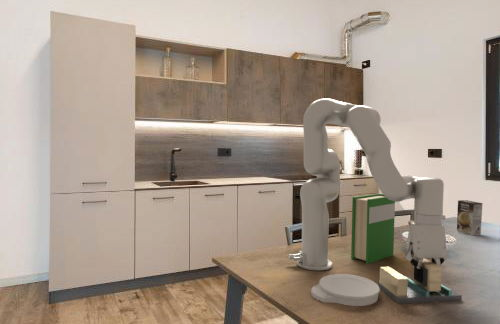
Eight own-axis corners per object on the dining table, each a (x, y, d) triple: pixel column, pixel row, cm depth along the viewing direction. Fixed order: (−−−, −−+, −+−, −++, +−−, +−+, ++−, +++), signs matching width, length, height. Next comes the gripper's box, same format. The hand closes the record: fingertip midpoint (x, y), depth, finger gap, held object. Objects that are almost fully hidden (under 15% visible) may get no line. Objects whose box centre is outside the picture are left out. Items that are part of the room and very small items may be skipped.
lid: (301, 286, 109) (301, 276, 109) (359, 281, 114) (359, 271, 114) (325, 311, 93) (325, 300, 92) (392, 304, 97) (392, 293, 97)
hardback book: (367, 263, 130) (369, 199, 129) (351, 258, 136) (352, 197, 134) (393, 255, 141) (395, 195, 140) (376, 250, 146) (378, 193, 145)
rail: (399, 303, 97) (399, 280, 97) (377, 286, 109) (378, 265, 108) (461, 300, 99) (462, 277, 99) (434, 283, 111) (434, 263, 111)
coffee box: (455, 231, 182) (457, 200, 181) (465, 230, 184) (466, 199, 183) (471, 235, 173) (473, 203, 173) (481, 234, 175) (482, 202, 175)
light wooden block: (411, 280, 108) (412, 258, 108) (423, 280, 108) (424, 258, 108) (428, 291, 100) (429, 267, 100) (440, 290, 101) (441, 266, 100)
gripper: (445, 216, 108) (443, 274, 109) (394, 217, 106) (392, 276, 107) (463, 221, 101) (460, 284, 102) (408, 222, 99) (406, 286, 99)
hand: (425, 279), depth 104 cm, fingers open, 4 cm apart
